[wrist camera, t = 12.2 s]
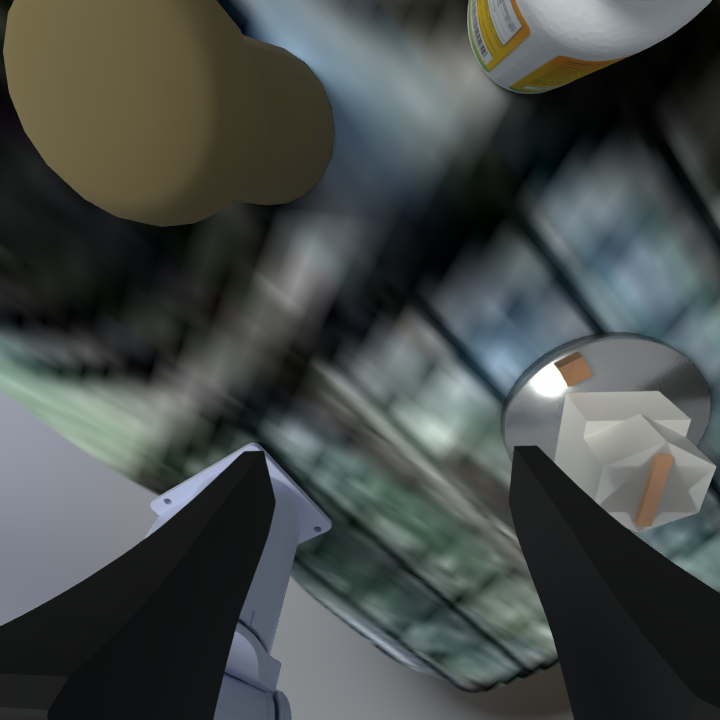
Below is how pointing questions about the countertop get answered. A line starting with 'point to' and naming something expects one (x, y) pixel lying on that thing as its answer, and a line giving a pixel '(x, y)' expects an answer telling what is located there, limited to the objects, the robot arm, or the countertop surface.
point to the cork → (164, 107)
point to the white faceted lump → (633, 456)
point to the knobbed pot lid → (600, 385)
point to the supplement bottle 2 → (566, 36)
